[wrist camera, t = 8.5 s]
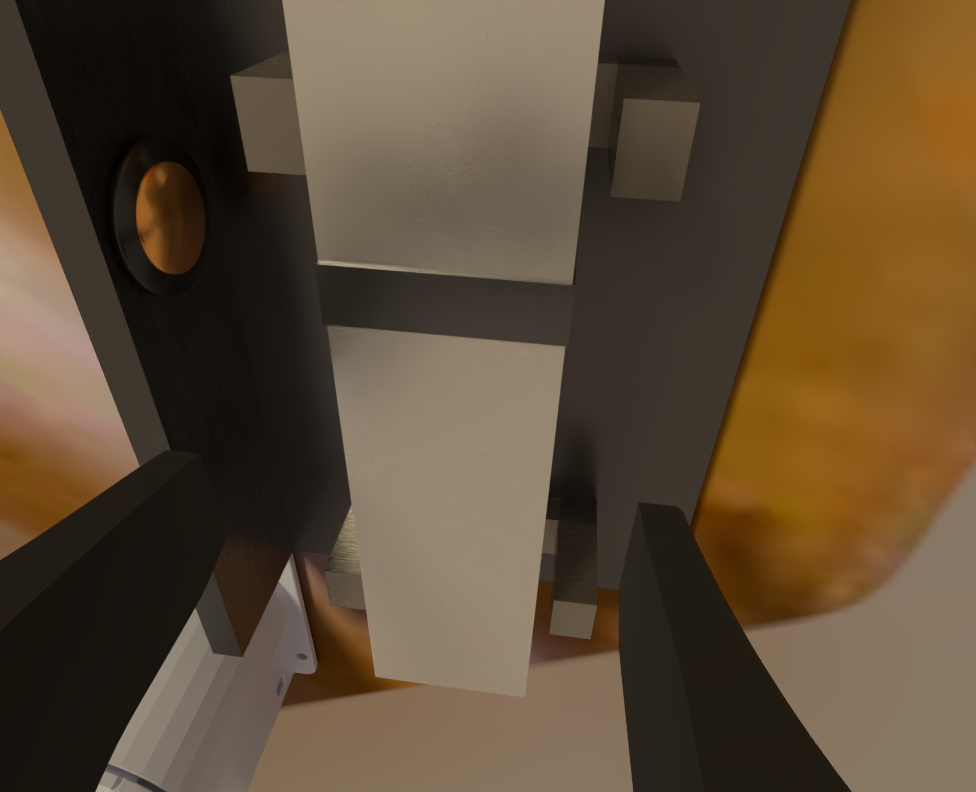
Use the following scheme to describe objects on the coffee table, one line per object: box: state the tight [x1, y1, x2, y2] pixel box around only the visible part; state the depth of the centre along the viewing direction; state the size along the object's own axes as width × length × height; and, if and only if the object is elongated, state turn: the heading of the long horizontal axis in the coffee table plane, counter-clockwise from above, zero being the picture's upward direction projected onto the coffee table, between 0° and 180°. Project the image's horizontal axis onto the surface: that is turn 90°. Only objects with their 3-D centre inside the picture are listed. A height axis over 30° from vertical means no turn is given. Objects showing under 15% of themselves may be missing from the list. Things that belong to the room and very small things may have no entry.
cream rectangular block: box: [282, 0, 605, 697], centre depth 15 cm, size 20×4×4 cm, turn 178°
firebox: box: [0, 0, 851, 658], centre depth 17 cm, size 20×15×6 cm
